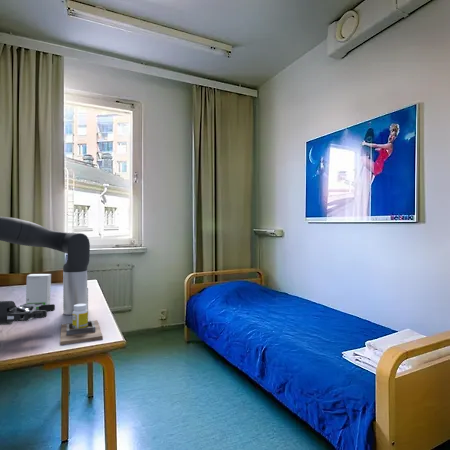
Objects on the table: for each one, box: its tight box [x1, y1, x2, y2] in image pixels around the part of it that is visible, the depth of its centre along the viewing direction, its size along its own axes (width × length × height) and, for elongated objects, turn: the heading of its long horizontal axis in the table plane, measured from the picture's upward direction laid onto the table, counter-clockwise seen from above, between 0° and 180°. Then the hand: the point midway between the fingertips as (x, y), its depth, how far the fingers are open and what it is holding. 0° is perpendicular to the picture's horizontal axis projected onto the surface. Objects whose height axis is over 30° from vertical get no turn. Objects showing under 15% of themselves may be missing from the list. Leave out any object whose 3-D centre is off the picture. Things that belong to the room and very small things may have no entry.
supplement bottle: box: [71, 304, 89, 329], centre depth 112 cm, size 5×5×8 cm
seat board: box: [59, 319, 103, 346], centre depth 112 cm, size 20×12×2 cm, turn 25°
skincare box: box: [25, 273, 52, 309], centre depth 142 cm, size 8×7×16 cm
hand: (50, 310), depth 110 cm, fingers open, 8 cm apart
